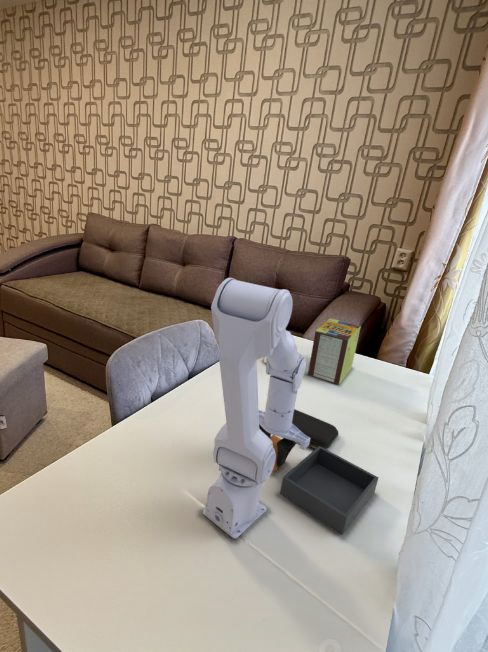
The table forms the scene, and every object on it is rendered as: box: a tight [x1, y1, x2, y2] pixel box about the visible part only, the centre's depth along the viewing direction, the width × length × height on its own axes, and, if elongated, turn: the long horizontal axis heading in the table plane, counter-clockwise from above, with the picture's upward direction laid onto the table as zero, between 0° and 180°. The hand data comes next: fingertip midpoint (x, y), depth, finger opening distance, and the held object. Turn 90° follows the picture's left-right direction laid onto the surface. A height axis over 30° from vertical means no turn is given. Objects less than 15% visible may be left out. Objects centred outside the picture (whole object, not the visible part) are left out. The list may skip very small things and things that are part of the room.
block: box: [269, 434, 282, 474], centre depth 85 cm, size 5×4×6 cm
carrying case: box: [292, 408, 340, 450], centre depth 96 cm, size 11×3×15 cm
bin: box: [279, 446, 379, 535], centre depth 78 cm, size 14×13×4 cm
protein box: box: [307, 318, 362, 386], centre depth 127 cm, size 10×15×16 cm
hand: (271, 459), depth 85 cm, fingers closed on block, 4 cm apart
